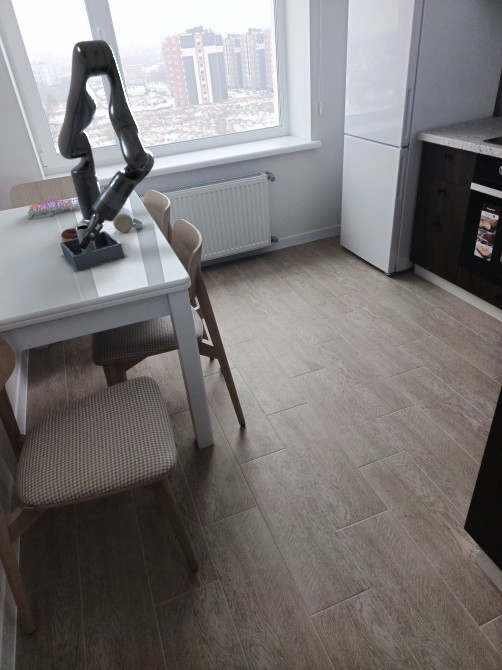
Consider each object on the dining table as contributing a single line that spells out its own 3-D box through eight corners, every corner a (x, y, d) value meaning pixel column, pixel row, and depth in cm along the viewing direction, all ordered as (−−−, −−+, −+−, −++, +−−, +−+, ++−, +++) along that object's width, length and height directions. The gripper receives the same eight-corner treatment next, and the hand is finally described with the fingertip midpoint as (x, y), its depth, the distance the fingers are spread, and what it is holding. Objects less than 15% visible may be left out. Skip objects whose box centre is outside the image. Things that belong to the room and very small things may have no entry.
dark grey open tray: (63, 255, 160) (59, 242, 158) (108, 243, 167) (105, 230, 165) (77, 271, 148) (73, 256, 146) (124, 257, 155) (121, 243, 152)
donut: (92, 242, 170) (89, 231, 168) (64, 248, 167) (61, 237, 165) (89, 233, 178) (86, 223, 176) (62, 239, 175) (59, 229, 173)
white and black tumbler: (94, 259, 154) (85, 229, 149) (81, 259, 155) (72, 229, 150) (100, 254, 158) (92, 224, 153) (88, 254, 159) (79, 224, 154)
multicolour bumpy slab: (100, 200, 217) (97, 188, 214) (99, 209, 204) (96, 197, 202) (31, 209, 212) (28, 198, 209) (26, 219, 200) (22, 207, 197)
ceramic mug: (115, 235, 174) (111, 214, 170) (114, 228, 181) (109, 208, 177) (144, 230, 177) (140, 210, 173) (142, 223, 183) (138, 204, 179)
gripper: (99, 189, 154) (72, 230, 158) (99, 201, 142) (70, 245, 146) (120, 203, 158) (92, 243, 162) (121, 216, 146) (92, 258, 150)
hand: (82, 243), depth 154 cm, fingers open, 6 cm apart
